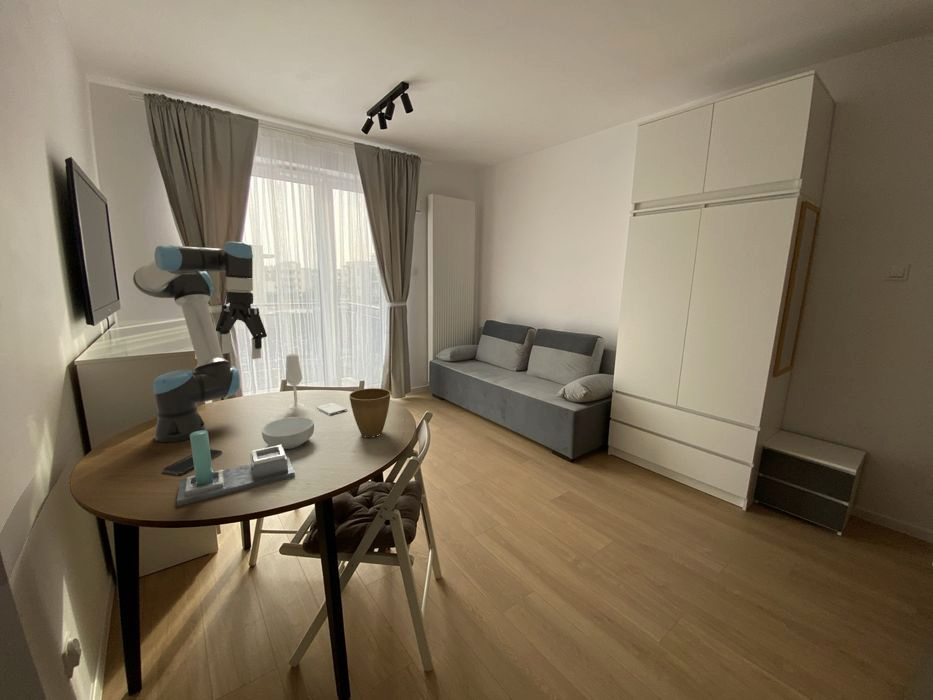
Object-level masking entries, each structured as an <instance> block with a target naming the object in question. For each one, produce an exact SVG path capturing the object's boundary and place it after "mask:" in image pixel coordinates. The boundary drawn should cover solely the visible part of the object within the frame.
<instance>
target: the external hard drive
mask: <svg viewBox="0 0 933 700" xmlns="http://www.w3.org/2000/svg"><path fill="white" fill-rule="evenodd" d="M316 408H317V410H318V409H319V410H318V411H320V410H321V411H320V412H322V411H323V412H322V413H324V412H325V413H324V414H326V413H327V414H326V415H328V414H329V415H328V416H330V415H331V414H334V415H336V414H335V413H338V412H342V411H345V410H347V411H348V409H347V408H345V407H344V406H341V405H339V404H337V403H334V402H330V403H325V404H321V405H317V406H316ZM316 408H315V409H316ZM345 412H346V411H345ZM342 413H343V412H342ZM338 414H339V413H338ZM331 416H332V415H331Z"/></svg>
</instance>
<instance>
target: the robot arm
mask: <svg viewBox="0 0 933 700" xmlns="http://www.w3.org/2000/svg"><path fill="white" fill-rule="evenodd" d="M253 258H254V254H253V246H252V245H251V244H250V243H248V242H240V241H226V242H225V243H224V248H216V247H215V248H214V247H199V246H197V247H196V246H184V245H183V246H182V245H181V246H180V245H172V244H167V245H158V246H156V247H155V250H154V261H152V262H151V263H150V264H149V265H142V266H141V267H139V268H138V269H136V270H135V272H134V273H133V276H132V282H133V284H134V286H135V287H136V289H137V290H138V291H140V292H141V293H143V294H145V295H147V296H149V297H153V298H160V299H174V302H175V304H176V305H177V306H180V307H181V310H182V313H183V317H184V319H185V323H186V327H187V331H188V334H189V338H190V340H191V344H192V348H193V350H194V351H193V352H194V355H195V358H196V362H197V365H196V366H195V367H194V371H193V370H192V369H181V370H180V369H177V370H174V371H169V372H166V373H163V374H161V375H159V376H156V377H155V378H154V380H153V381H152V382H153V383H152V386H153V390H152V391H153V392H152V393H153V394H154V400H155V406H156V414H157V420H156V424H155V429H154V433H153V434H154V435H153V436H154V440H155V441H156V442H158V441H159V442H158V443H164V442H168V443H177V442H181V441H182V442H183V441H187V440H190V434H191V433H193V432H196V431H201V430H205V431H207V430H206V424H205V422H204V420H203V419H202V416H201V415H200V413H199V411H198V404H200V403H205V402H210V401H213V400H214V401H215V400H219V399H225V398H227V397H231V396H234V395H236V393H238V391H239V389H240V383H241V382H240V381H241V378H240V377H241V376H240V372H239V369H238V368H237V367H236V366H235V365H231V364H230V361H229V360H227V359H225V358H224V355H223V354H231V353H232V334H231V332H230V331H231V330H232V328H233V326H234V325H235V323H236V322H237V321H240V322H243V323H244V324H245V326H246V327H247V329H248V331H249V332H250V334H251V336H252V338H251V359H252V360H256V359H261V358H262V354H261V353H262V352H261V349H262V339H264V338H267V335H268V334H267V331H266V328H265V327H264V323H263V321H262V319H261V315H260V309H259V307H252V306H251V305H253V304H254V293H253V292H252V291H254V286H253V285H254V283H253V281H254V279H253V277H254V275H253V271H254V269H253V268H254V267H253V263H254V262H253V261H254V260H253ZM208 272H211V273H212V272H214V273H215V272H216V273H217V272H219V273H221V272H223V273H225V289H226V290H227V291H226V292H225V295H226V296H225V297H226V298H225V300H226V304H222V305H221V312H220V314H219V318H218V321H217V324H216V326H214V325H215V324H214V322H213V321H214V320H213V319H212V316H211V312H210V307H209V305H208V303H209V302H210V300H211V297H212V295H213V294H214V285H213V284H214V283H213V281H212V278H211V276H210V274H209V273H208ZM227 303H228V304H227ZM217 332H219V334H220V342H221V346H220V343H219V337H218V335H217Z"/></svg>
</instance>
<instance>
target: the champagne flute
mask: <svg viewBox="0 0 933 700" xmlns="http://www.w3.org/2000/svg"><path fill="white" fill-rule="evenodd" d="M299 357H300V356H299V354H298V353H288V354H286V358H285V365H286V366H285V381H286V382H287V383H288V384H289V385H290V386H292V387H293V389H292V390H293V401H294V402H293V403H292V404H290V405H289V406H288V407H289V408H299V409H301V408H300V407H302V408H304V407H305V405H304V404H303V403H301V402H298V394H297V393H298V392H297V386H298V385H299V384H300V383H301V382H302V380H303V375H302V369H301V364H300V362H301V361H300V358H299ZM303 406H304V407H303ZM289 408H288V409H289Z"/></svg>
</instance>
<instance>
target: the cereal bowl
mask: <svg viewBox="0 0 933 700" xmlns="http://www.w3.org/2000/svg"><path fill="white" fill-rule="evenodd" d="M314 432H315V421H314V420H313V419H311V418H310V417H307V416H306V417H305V416H293V417H285V418H280V419H276V420H274V421H271V422H269V423H267V424H265V425H264V426H263V427H262V429H261V435H262V436H261V437H262V439H263V442H264V443H266V445H268V447H272V446H277V445H281V446H282V447H283V449H284V450H288V449H287V448H290V449H294V448H297V447H299V446H301V445H302V444H304V443H306V442H307V441H309V440H310V438H311V437H312V436H313V434H314ZM300 444H301V445H300ZM296 446H297V447H296ZM293 447H294V448H293Z"/></svg>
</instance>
